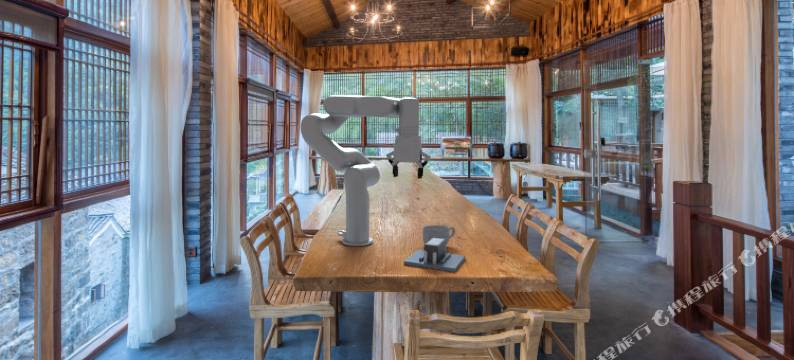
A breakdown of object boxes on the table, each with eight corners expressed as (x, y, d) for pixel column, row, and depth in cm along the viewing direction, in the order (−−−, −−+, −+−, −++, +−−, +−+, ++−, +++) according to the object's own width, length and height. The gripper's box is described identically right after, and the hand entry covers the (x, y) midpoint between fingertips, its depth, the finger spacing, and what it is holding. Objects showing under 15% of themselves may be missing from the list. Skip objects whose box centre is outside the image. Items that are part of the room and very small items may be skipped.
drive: (423, 261, 142) (424, 244, 141) (432, 253, 151) (432, 237, 150) (437, 263, 140) (438, 245, 139) (445, 255, 149) (446, 238, 148)
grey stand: (403, 264, 142) (404, 249, 141) (417, 252, 156) (418, 239, 155) (454, 271, 135) (455, 256, 135) (464, 258, 149) (465, 244, 148)
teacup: (425, 251, 158) (426, 230, 157) (418, 243, 168) (419, 224, 167) (460, 249, 161) (461, 229, 160) (451, 242, 171) (452, 223, 170)
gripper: (383, 131, 152) (382, 177, 154) (427, 132, 146) (426, 180, 148) (391, 131, 159) (390, 175, 161) (433, 132, 153) (432, 177, 155)
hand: (407, 177), depth 155 cm, fingers open, 9 cm apart
